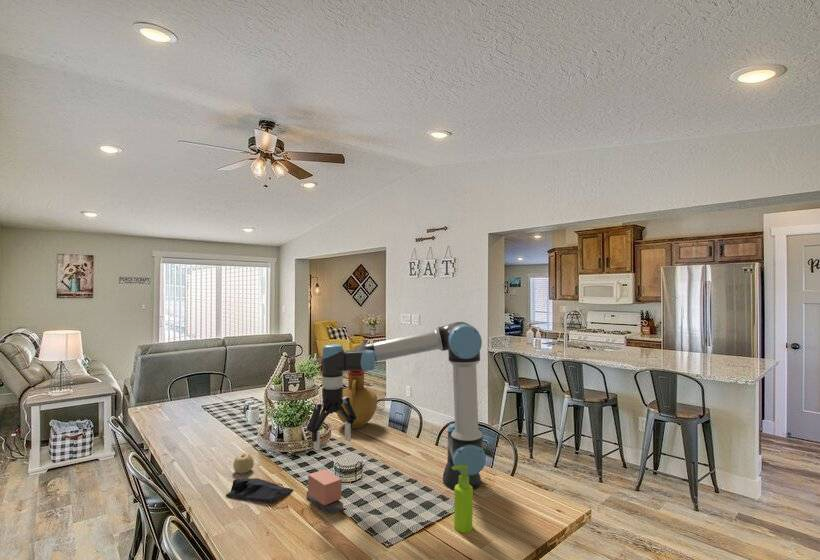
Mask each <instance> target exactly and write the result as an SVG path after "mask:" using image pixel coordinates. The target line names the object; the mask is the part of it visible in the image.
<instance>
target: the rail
mask: <svg viewBox="0 0 820 560" xmlns="http://www.w3.org/2000/svg"><path fill="white" fill-rule="evenodd" d="M306 499H308V500H310V501H311V502H312V503H313V504H314V505H317V506H318V507H319V508H320V509H321V510H323V511H324V512H326V513H327V514H329V515H334V514H336V513H338V512H341V511H344V502H342V501H341V500H337V501H335V502H333V503H330V504H328V505H323V504H321V503H320V502H319V501H317V500H316V499H314V498H313V497H312V496H310V495H309V494H308V490H306Z"/></svg>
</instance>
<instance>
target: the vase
mask: <svg viewBox="0 0 820 560" xmlns="http://www.w3.org/2000/svg"><path fill="white" fill-rule="evenodd" d="M365 373H366V371H347V375H348V387H345V388H343V397H344V396H345V397H349V399H350V404H351V406H352V409H353V411H354V413H355V415H356V420H354V423H352V429H359V428H363V427H364V426H365V425H366V424H367V423H369V422H370V420H372V418H373V417H374V415H375V414H376V410H377V408H378V407H377V406H378V396H377V394H376V393H375V392H374V391H373V390H372V389H370V388H367V387H365ZM343 397H342V398H343ZM341 406H342V407H343V409H344V410H345V412H346V413H347V414H348V412H347V410H346V407H345V405H344V403H342V405H341ZM335 413H336V415H337V417H338V419H339V420H340V421H341V422H342V423H343V424H345V422H347V421H346V420H345V418H344V417H343V416H342V415H341V414H340V413H339V411H338V412H335ZM348 415H349V414H348Z"/></svg>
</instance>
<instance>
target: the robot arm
mask: <svg viewBox="0 0 820 560" xmlns="http://www.w3.org/2000/svg"><path fill="white" fill-rule="evenodd" d="M482 344H483V341H482V335H481V334H480V332H479V331H478V329H477V328H476V327H474V326H473V325H471V324H469V323H468V322H464V321H455V322H453V323H452V322H451V323H449V324H446V325H442V326H438V327H436V328H435V329H434V330H430V331H426V332H421V333H417V334H416V333H415V334H411V335H406V336H401V337H396V338H391V339H387V340H381V341H376V342H372V343H367V344H366V343H362V344H359V345H357V346H356V347H355V348H354V349H350V350H348V349H347V350H346V349H344V347H343V345H342V344H336V343H332V344H326V345H324V346H323V347H322V354H321V372H322V373H321V375H322V376H321V377H322V378H321V380H322V381H321V383H322V388H321V391H322V392H321V398H322V402H319V403H318V402H315V403H314V409H313V412H312V414H311V417H310V419H309V422H308V424H307V427H306V431H308V432H309V433H311V440H312V442H313V450H314V451H317V452H320V451H321V449H320V444H321V443H320V441H321V440H320V435H321V434H320V431H319V430H320V428H321V426H322V425H323V423H324V422H325V421H326V418H327V417H328V416H329V415H330V414H331V415H332V414H333V413H336V412H338V411H339V413H340V414H341V415H342V416H343V417H344V418H345V420H346V421H347V422H345V423H344V440H345V441H348V442H350V441H352V440H351V432H352V430H353V428H352V423H354V420H356V415H355V413H354V411H353V409H352V406H351V404H350V399H349V397H345V396H344V397H343V389H344V388H343V385H344V376H343V375H344V372H349V371H364V372H369V371H374V370H375V368H376V363H377V362H381V361H385V360H390V359H396V358H402V357H407V356H411V355H416V354H417V355H418V354H421V353H426V352H431V351H437V350H439V351H441V352H445V351H448V352H447V355H448V362H449V363H450V364H451V365H452V378H453V379H452V380H453V407H454V422H453V423H450V424H448V427H447V459H446V460H447V462H446V465H445V468H444V471H443V474H442V482H443V484H444V485H445V486H446V487H447V488H450V489H451V490H455V485H457V484H459V475H461V469H458V470H453V469H452V466H456V465H467V466H468V468H469V470H467V472H466V475H468V476H469V485H471V486H472V487H473V490H477V488H480V487H481V483H482V482H481V481H482V478H481V474H480V473H481V471H482V470H483V469H484V467H485V466H486V464H487V463H486V462H487V461H486V460H487V455H486V453H485V451H484V441H483V440H484V439H483V438H484V436H483V432H481V430H480V429H479V414H478V413H479V410H478V409H479V408H478V407H479V406H478V405H479V404H478V383H477V382H478V378H477V375H478V373H477V365H478V364H479V362H481V349H482V346H483V345H482ZM342 397H343V398H342ZM342 403H344V405H345V407H346V410H347V412H348V414H349V415H348V414H347V413H346V412H345V410H344V409H343V407H342V406H341V405H342Z"/></svg>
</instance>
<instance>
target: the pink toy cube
mask: <svg viewBox="0 0 820 560" xmlns="http://www.w3.org/2000/svg"><path fill="white" fill-rule="evenodd" d="M307 476H308V477H307V479H308V480H307V491H308V494H309V495H310V496H312V497H313V498H314V499H316V500H317V501H319V502H320V503H321V504H323V505H328V504H330V503H333V502H335V501H337V500H339V501H341V500H342V485H343V484H342V480H343V479H342V478H341V477H339V476H337V475H336V474H334V473H333V472H330V471H329V470H327V469H326V468H325V469H321V470H318V471H315V472H312V473H309V474H308V475H307Z"/></svg>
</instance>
